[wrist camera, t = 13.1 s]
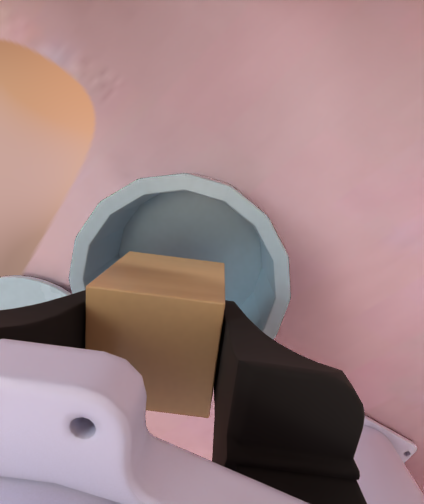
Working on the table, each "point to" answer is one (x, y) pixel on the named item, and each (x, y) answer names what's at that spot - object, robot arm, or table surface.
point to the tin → (191, 239)
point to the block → (161, 325)
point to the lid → (27, 291)
